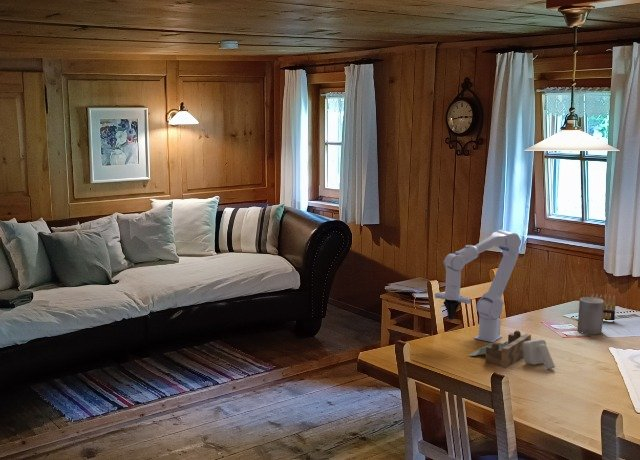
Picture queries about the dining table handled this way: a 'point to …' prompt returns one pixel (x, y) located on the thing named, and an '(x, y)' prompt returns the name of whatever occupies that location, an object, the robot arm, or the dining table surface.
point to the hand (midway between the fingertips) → (451, 318)
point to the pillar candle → (590, 315)
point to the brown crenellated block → (507, 350)
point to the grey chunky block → (537, 353)
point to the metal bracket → (483, 350)
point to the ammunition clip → (608, 307)
